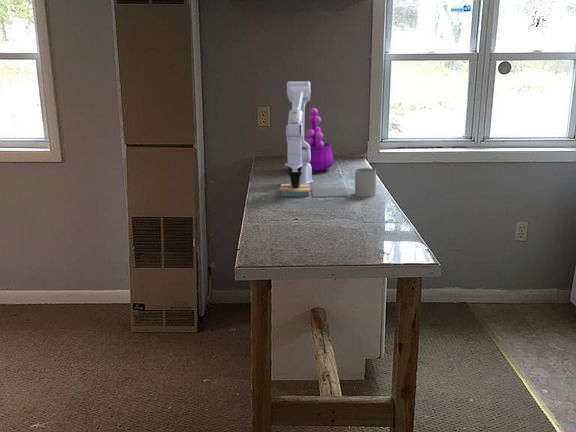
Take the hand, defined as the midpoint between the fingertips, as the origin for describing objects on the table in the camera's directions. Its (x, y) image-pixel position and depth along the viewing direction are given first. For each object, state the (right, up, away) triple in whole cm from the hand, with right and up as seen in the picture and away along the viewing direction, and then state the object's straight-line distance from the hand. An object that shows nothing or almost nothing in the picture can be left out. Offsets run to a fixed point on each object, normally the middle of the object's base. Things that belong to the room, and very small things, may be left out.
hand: (295, 185), depth 253 cm
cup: (+28, -4, -2) cm, 29 cm away
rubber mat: (+14, -3, +1) cm, 14 cm away
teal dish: (0, -3, +1) cm, 3 cm away
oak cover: (0, -1, 0) cm, 1 cm away
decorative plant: (+10, +10, +45) cm, 47 cm away
